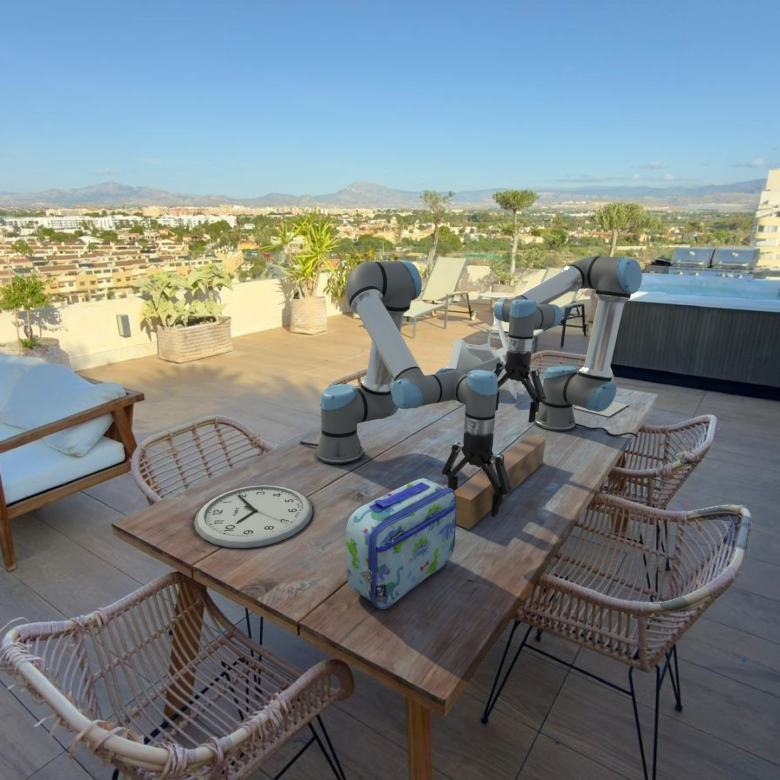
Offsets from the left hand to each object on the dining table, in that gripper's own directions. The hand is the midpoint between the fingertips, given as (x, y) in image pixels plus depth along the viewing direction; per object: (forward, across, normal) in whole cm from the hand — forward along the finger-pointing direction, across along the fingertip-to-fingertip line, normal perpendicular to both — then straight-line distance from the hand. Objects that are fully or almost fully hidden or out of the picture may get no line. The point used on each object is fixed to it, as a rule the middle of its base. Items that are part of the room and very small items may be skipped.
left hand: (473, 507), depth 139 cm
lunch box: (+2, +1, -34) cm, 34 cm away
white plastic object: (+2, -49, +98) cm, 110 cm away
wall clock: (+2, -45, -36) cm, 58 cm away
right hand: (-14, -6, +36) cm, 39 cm away
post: (+2, 0, +18) cm, 18 cm away
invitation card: (+2, +1, +114) cm, 114 cm away
